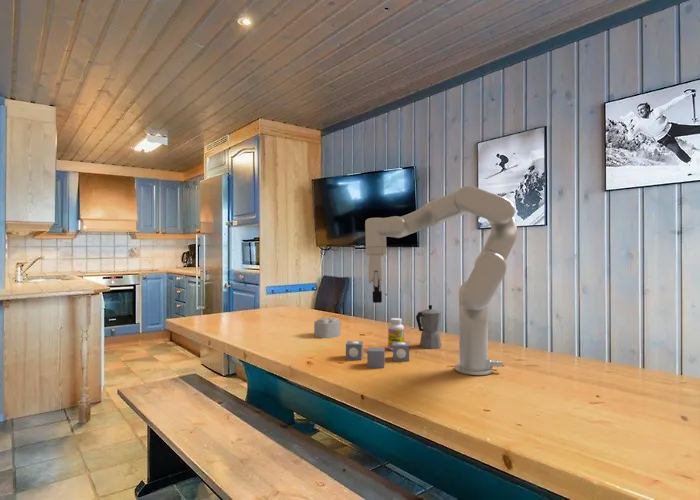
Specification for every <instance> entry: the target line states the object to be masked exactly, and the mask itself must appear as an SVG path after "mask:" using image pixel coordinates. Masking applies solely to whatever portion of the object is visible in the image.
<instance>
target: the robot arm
mask: <svg viewBox="0 0 700 500" xmlns="http://www.w3.org/2000/svg"><path fill="white" fill-rule="evenodd" d="M515 208H516V207H515V205H514V204H513V202H512V201H511V200H510V199H508V198H506V197H503V196H500V195H498V194H495V193H493V192H490V191H487V190H484V189H482V188H479V187H477V186H474V185H473V186H472V185H464V186H462V187H460V188H459V189H458V190H457V191H455V192H452V193H450V194H447V195H444V196H442V197H439V198H436V199H433V200H431V201H429V202H426V203H425V204H424V205H423V206H421V207H420V208H418V209H416V210H414V211H412V212H410V213H408V214H405V215H402V216H397V215H395V216H394V215H393V216H389V217H370V218H367V219H366V220H365V223H364V227H365V228H364V229H365V257H368V283H369V284H372V303H374V304H375V303H378V304H379V303H383V302H382V301H383V295H382V283H383V281H384V257H386V256H387V255H388V254H387V251H388V250H387V237H390V238H396V239H400V238H403V237H407V236H409V235H411V234H414V233H417V232H419V231H422V230H425V229H427V228H431V227H434V226H437V225H440V224H443V223H446V222H447V221H450V220H453V219H456V218H458V217H461V216H464V215H467V214H469V213H470V214H473V215H476V216H478V217H481V218H484V219H485V220H487V222H488V223H489V224H490V232H489V236H488V237H487V240H486V242H485V244H484V245H483V247H482V249H481V251H480V253H479V254H478V256H477V258H476V259H475V260H474V265H473V269H472V271H471V273H470V275H469V277H468V278H467V280H465V281H464V282H463V283H462V284H461V285H460V287H459V291H458V305H459V306H458V308H459V309H458V310H459V311H458V312H459V313H458V314H459V319H458V320H459V325H458V326H459V328H458V329H459V333H458V334H459V342H458V343H459V349H458V350H459V354H458V355H459V357H458V358H459V363H457V364H455V365H454V370H455V371H456V372H458V373H461V374H465V375H470V376H486V375H491V374H492V373H493V372H494V371H493V367H496V368H498V367H499V368H501V367H502V368H503V361H502V360H497V359H490V358H489V348H488V347H489V346H488V345H489V343H488V342H489V341H488V340H489V337H488V336H489V330H488V329H489V313H488V312H489V311H488V305H489V304H490V303H491V301H492V299H493V297H494V296H495V293H496V291H497V290H498V289H499V286H500V285H501V283H502V280H503V279H504V278H505V277H504V276H505V274H506V271H507V263H506V261H507V259H508V257H509V255H510V253H511V251H512V248H513V247H514V245H515V242H516V238H517V234H518V228H517V222H516V219H515V217H514V216H515V213H516V209H515Z"/></svg>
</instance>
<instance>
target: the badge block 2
mask: <svg viewBox="0 0 700 500" xmlns="http://www.w3.org/2000/svg"><path fill="white" fill-rule="evenodd" d="M392 361H393V362H410V343H409V342H408V341H404V342H393V350H392Z"/></svg>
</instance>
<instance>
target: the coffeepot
mask: <svg viewBox="0 0 700 500" xmlns="http://www.w3.org/2000/svg"><path fill="white" fill-rule="evenodd" d="M441 317H442V311H440V310H437V309H436V310H435V309H433V305H432V304H429V305H428V309H424V310H423V309H422V310H420V311H419V312H417V314H416V316H415V319H416V322H417V323H416V324H417V327H418V331H419V332H421V335H420V341H419V347H421V348H423V349H429V350H430V349H431V350H435V349H440V348H441V347H442V342H441V336H440V332H439V328H440V325H441Z"/></svg>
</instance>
